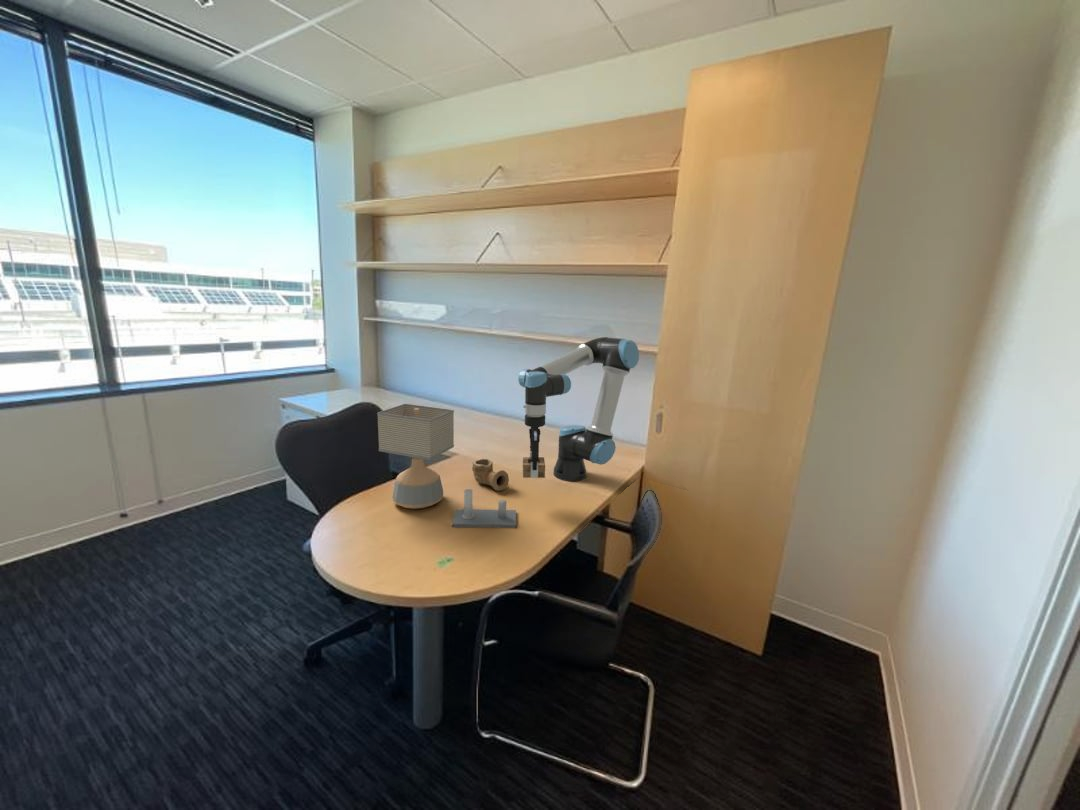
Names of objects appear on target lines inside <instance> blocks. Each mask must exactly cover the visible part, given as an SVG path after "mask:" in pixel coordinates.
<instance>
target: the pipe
mask: <svg viewBox="0 0 1080 810" xmlns="http://www.w3.org/2000/svg"><path fill="white" fill-rule="evenodd" d="M493 465H494V464H493V460H492V459H489V458H480V459H479V460H473V462H472V468H471V469H472V472H473V477H474V479H475V482H477V483H479V484H480V485H488V486H490V487H492V488H493V489H494V490H495V491H498V492H499V491H504V490H505V489H507V488H508V486H509V479H510V478H509V473H507V471H505V470H499V471H496V472H495V471H494V466H493Z"/></svg>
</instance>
